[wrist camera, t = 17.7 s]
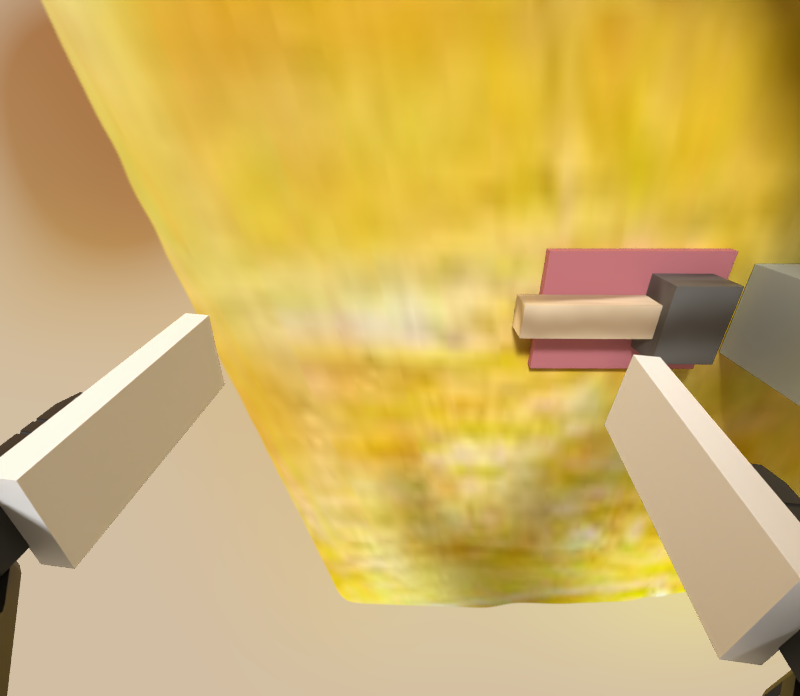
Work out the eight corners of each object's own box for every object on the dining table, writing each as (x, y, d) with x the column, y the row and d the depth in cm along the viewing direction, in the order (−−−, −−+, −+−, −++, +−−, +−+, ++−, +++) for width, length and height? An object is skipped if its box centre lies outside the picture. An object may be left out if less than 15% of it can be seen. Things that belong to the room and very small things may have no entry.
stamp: (520, 272, 39) (531, 285, 36) (713, 273, 39) (744, 286, 36) (509, 345, 43) (519, 363, 40) (686, 346, 43) (712, 364, 39)
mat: (546, 248, 39) (550, 251, 38) (730, 248, 39) (738, 251, 38) (527, 363, 45) (530, 368, 44) (687, 364, 45) (693, 368, 44)
